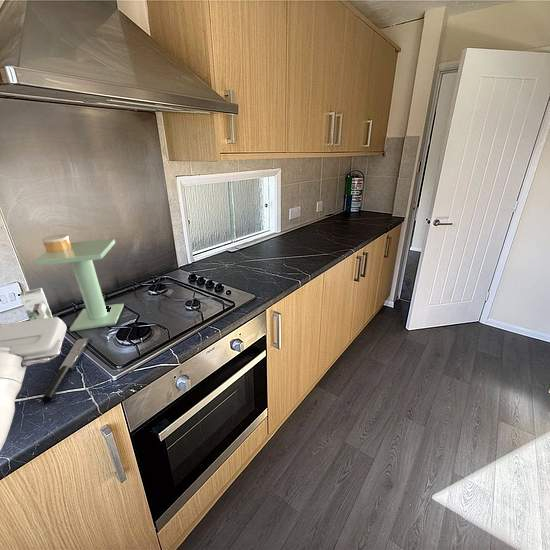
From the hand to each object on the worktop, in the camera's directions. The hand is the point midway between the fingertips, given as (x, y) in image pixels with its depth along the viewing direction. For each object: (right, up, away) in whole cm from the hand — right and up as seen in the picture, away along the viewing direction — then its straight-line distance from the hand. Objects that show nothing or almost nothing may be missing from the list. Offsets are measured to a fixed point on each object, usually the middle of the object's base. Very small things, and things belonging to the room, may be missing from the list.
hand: (15, 308), depth 62 cm
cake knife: (-2, -19, +19) cm, 26 cm away
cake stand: (-8, -8, +43) cm, 45 cm away
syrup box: (-22, -12, +36) cm, 44 cm away
